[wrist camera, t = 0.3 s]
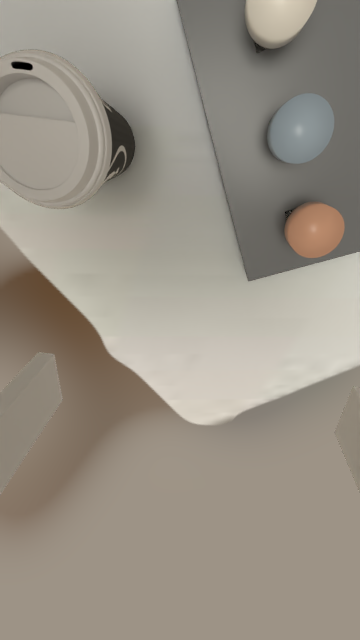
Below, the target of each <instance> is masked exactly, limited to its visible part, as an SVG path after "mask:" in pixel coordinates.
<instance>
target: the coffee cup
mask: <svg viewBox="0 0 360 640" xmlns="http://www.w3.org/2000/svg"><path fill="white" fill-rule="evenodd" d="M134 150H135V142H134V136H133V133H132V130H131V128H130V126H129V124H128V123H127V121H126V120H125V119H124V118H123V117H122V116H121V115H120V114H119V113H118V112H117V111H115V110H114V109H113V108H112V107H111V106H109V105H108V104H107V103H106V102H104V101H103V100H102V99H101V98H100V97H99V96H98V94H97V92H96V91H95V89H94V88H93V86H92V85H91V83H90V82H89V81H88V80H87V78H86V77H85V76H84V75H83V74H82V73H81V72H80V71H79V70H78V69H77V68H76V67H74V66H73V65H72V64H71V63H69V62H68V61H66V60H65V59H63V58H61V57H59V56H57V55H55V54H52V53H49V52H46V51H41V50H20V51H15V52H12V53H9V54H7V55H5V56H3V57H1V58H0V181H1V182H2V183H3V184H4V185H6V186H7V187H8V188H9V189H11V190H12V191H14V192H15V193H16V194H18V195H19V196H21V197H22V198H24V199H26V200H28V201H30V202H32V203H34V204H37V205H40V206H44V207H48V208H54V209H66V208H71V207H75V206H78V205H80V204H82V203H84V202H86V201H87V200H89V199H90V198H91V197H92V196H93V195H94V194H95V193H96V192H97V191H98V190H99V188H100V187H101V185H102V184H104V183H105V182H107V181H109V180H111V179H112V178H114V177H116V176H118V175H119V174H121V173H123V172H124V171H125V170H126V169H127V168H128V167H129V165H130V163H131V162H132V159H133V156H134Z"/></svg>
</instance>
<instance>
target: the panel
mask: <svg viewBox="0 0 360 640" xmlns="http://www.w3.org/2000/svg"><path fill="white" fill-rule="evenodd" d="M177 3H178V7H179V11H180V14H181V18H182V22H183V26H184V30H185V34H186V38H187V42H188V46H189V50H190V54H191V58H192V62H193V66H194V70H195V73H196V77H197V81H198V85H199V89H200V93H201V97H202V101H203V105H204V109H205V113H206V117H207V121H208V125H209V129H210V132H211V136H212V140H213V144H214V148H215V152H216V156H217V160H218V164H219V168H220V172H221V176H222V180H223V184H224V187H225V191H226V195H227V199H228V203H229V207H230V211H231V215H232V219H233V223H234V227H235V231H236V235H237V239H238V243H239V246H240V250H241V254H242V258H243V262H244V266H245V270H246V274H247V278H248V281H252V280H255V279H259V278H263V277H267V276H270V275H274V274H278V273H281V272H285V271H289V270H293V269H296V268H300V267H304V266H307V265H311V264H315V263H319V262H322V261H326V260H330V259H333V258H337V257H341V256H345V255H348V254H352V253H356V252H359V251H360V0H317V2H316V5H315V8H314V10H313V12H312V14H311V15H310V17H309V19H308V20H307V22H306V23H305V25H304V26H303V28H302V29H301V31H300V32H299V33H298V35H297V36H296V37H295V38H294V39H293V40H292V41H291V42H289V43H288V44H286V45H284V46H282V47H279V48H275V49H269V48H268V49H265V50H263V51H261V52H259V53H257V54H256V48H255V43H254V40H253V39H252V37H251V36H250V34H249V32H248V29H247V26H246V22H245V4H246V0H177ZM305 93H313V94H317V95H319V96H321V97H323V98H324V99H325V100H326V101H327V102H328V103H329V104H330V106H331V108H332V111H333V114H334V130H333V134H332V137H331V139H330V141H329V143H328V145H327V146H326V148H325V149H324V150H323V151H322V152H321V153H320V154H319V155H318V156H317V157H315V158H314V159H312V160H310V161H308V162H305V163H301V164H293V163H285V162H282V161H280V160H278V159H277V158H276V157H275V156H274V155H273V154H272V152H271V151H270V148H269V146H268V140H267V133H268V127H269V122H270V121H271V119H272V117H273V116H274V114H275V113H276V111H277V110H278V109H279V108H280V107H281V106H282V105H284V104H285V103H286V102H288V101H289V100H290V99H292V98H293V97H295V96H297V95H300V94H305ZM307 202H321V203H324V204H326V205H328V206H330V207H333V208H335V209H336V210H337V211H338V212H339V213H340V214H341V215H342V217H343V220H344V226H345V228H344V234H343V237H342V239H341V241H340V243H339V244H338V245H337V247H336V248H335V249H334V250H332V251H331V252H330V253H328V254H326V255H324V256H322V257H318V258H306V257H303V256H301V255H299V254H297V253H296V252H295V251H294V250H293V248H292V247H291V246H290V245H289V243H288V242H287V240H286V238H285V232H284V228H285V224H286V216H285V212H286V211H289V210H292V209H295V208H297V207H298V206H300V205H302V204H304V203H307Z"/></svg>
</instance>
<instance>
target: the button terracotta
mask: <svg viewBox="0 0 360 640" xmlns="http://www.w3.org/2000/svg"><path fill="white" fill-rule="evenodd" d="M344 228H345V226H344V220H343V217H342V215H341V214H340V213H339V212H338V211H337V210H336V209H335V208H333V207H330V206H328V205H326V204H324V203H321V202H307V203H304V204H302V205H300V206H298V207H297V208H296V209H295V210H293V212H292V213H291V214H290V215H289V217H288V219H287V221H286V224H285V228H284V232H285V238H286V240H287V242H288V243H289V245H290V246H291V247H292V248H293V250H294V251H295V252H296V253H297V254H299V255H301V256H303V257H306V258H318V257H322V256H324V255H326V254H328V253H330V252H331V251H332V250H334V249H335V248H336V247H337V245H338V244H339V243H340V241H341V239H342V237H343V234H344Z"/></svg>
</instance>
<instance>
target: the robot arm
mask: <svg viewBox="0 0 360 640" xmlns="http://www.w3.org/2000/svg"><path fill="white" fill-rule="evenodd" d="M62 400H63V399H62V393H61V388H60V383H59V377H58V372H57V366H56V361H55V356H54V354H48V353H39V352H38V353H37V354H36V355H35V356H34V358H33V359H32V360H31V361H30V362H29V363H28V364H27V365H26V366H25V367H24V368H23V369H22V370H21V371H20V372H19V373H18V374H17V375H16V377H15V378H14V379H13V380H12V381H11V382H10V383H9V384H8V385H7V386H6V387H5V388H4V389H3V390H2V392H0V494H1V493H2V491H3V490H4V488H5V487H6V485H7V484H8V482H9V481H10V479H11V478H12V476H13V475H14V473H15V472H16V470H17V468H18V467H19V465H20V464H21V462H22V461H23V459H24V458H25V456H26V455H27V453H28V452H29V450H30V449H31V447H32V446H33V444H34V443H35V441H36V440H37V438H38V436H39V435H40V433H41V432H42V431H43V429H44V427H45V426H46V424H47V423H48V421H49V420H50V418H51V417H52V415H53V414H54V412H55V411H56V409H57V408H58V406H59V405H60V403H61V402H62ZM335 435H336V437H337V440H338V442H339V445H340V447H341V449H342V452H343V454H344V456H345V459H346V461H347V464H348V466H349V468H350V471H351V473H352V475H353V478H354V480H355V483H356V485H357V487H358V490H359V492H360V387H356V386H353V388H352V390H351V393H350V395H349V397H348V400H347V402H346V405H345V407H344V410H343V412H342V415H341V417H340V420H339V422H338V425H337V427H336V430H335Z"/></svg>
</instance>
